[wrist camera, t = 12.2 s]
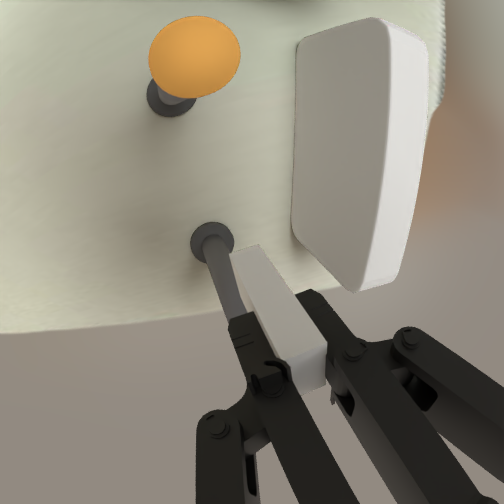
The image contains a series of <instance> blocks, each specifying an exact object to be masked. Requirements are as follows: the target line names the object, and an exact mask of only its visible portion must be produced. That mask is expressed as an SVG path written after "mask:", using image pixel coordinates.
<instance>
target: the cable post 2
mask: <svg viewBox="0 0 504 504" xmlns="http://www.w3.org/2000/svg"><path fill="white" fill-rule="evenodd" d="M233 247H234V238H233V235H232V233H231V232H230V230H229V229H228V228H227V227H226V226H225V225H223V224H221V223H218V222H209V223H205V224H203V225H201V226H200V227H198V228H197V229H196V230H195V232H194V233H193V235H192V238H191V249H192V252H193V254H194V256H195V257H196V258H197V259H198V260H199V261H201V262H203V263H206V264H207V265H208V268H209V271H210V273H211V276H212V279H213V282H214V285H215V288H216V291H217V293H218V296H219V299H220V302H221V304H222V307H223V310H224V312H225V315H226V318H227V321H228V323H229V320H230V319H231V318H234V317H237V316H240V315H243V314H245V313H248V312H247V310H246V308H245V306H244V303H243V301H242V299H241V297H240V293H239V289H238V286H237V282H236V279H235V275H234V271H233V268H232V264H231V260H230V257H229V254H230V253H231V252H232V250H233Z"/></svg>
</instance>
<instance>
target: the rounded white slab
mask: <svg viewBox="0 0 504 504" xmlns="http://www.w3.org/2000/svg"><path fill="white" fill-rule="evenodd" d="M428 85H429V61H428V52H427V48H426V45H425V42H424V41H423V40H422V39H421V38H420V37H419V36H418V35H416V34H414V33H412V32H410V31H408V30H406V29H404V28H402V27H400V26H397V25H395V24H393V23H391V22H388V21H386V20H383V19H381V18H373V17H370V18H366V19H362V20H358V21H354V22H350V23H347V24H343V25H340V26H337V27H334V28H330V29H327V30H324V31H321V32H318V33H315V34H313V35H310V36H307V37H305V38H304V39H302V40H301V41H300V43H299V45H298V48H297V53H296V102H295V140H294V166H293V188H292V206H291V226H292V229H293V233H294V235H295V236H296V238H297V240H298V241H299V242H300V243H301V244H302V245H303V246H304V247H305V248H306V249H307V250H308V251H309V252H310V253H311V254H312V255H313V256H314V257H315V258H316V259H317V260H318V261H319V262H320V263H321V264H322V265H323V266H324V267H325V268H326V269H327V270H328V271H329V272H330V273H331V274H332V275H333V276H334V277H335V278H336V279H337V281H338V282H339V283H340V284H341V285H342V286H343V287H344V288H345V289H347V290H348V291H350V292H352V293H356V292H359V291H363V290H366V289H370V288H373V287H377V286H380V285H383V284H387V283H390V282H393V281H394V279H395V277H396V276H397V274H398V272H399V268H400V265H401V261H402V258H403V254H404V250H405V246H406V242H407V238H408V234H409V230H410V225H411V221H412V217H413V212H414V207H415V202H416V197H417V192H418V186H419V180H420V174H421V167H422V160H423V153H424V144H425V135H426V124H427V110H428Z"/></svg>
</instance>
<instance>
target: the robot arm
mask: <svg viewBox="0 0 504 504" xmlns="http://www.w3.org/2000/svg"><path fill="white" fill-rule="evenodd" d="M229 257H230V260H231V264H232V268H233V271H234V275H235V279H236V282H237V286H238V289H239V293H240V297H241V299H242V301H243V303H244V306H245V308H246V310H247V312H248V313H245V314H243V315H240V316H237V317H234V318H231V319H230V320H229V326H228V331H229V334H230V337H231V340H232V342H233V345H234V348H235V351H236V353H237V356H238V359H239V361H240V364H241V367H242V370H243V372H244V375H245V377H246V381H247V389H246V392H245V394H244V396H243V397H242V399H240V400H239V401H238V402H237V403H236V404H234V405H233V406H231V407H230V408H229V409H227V410H213V411H210V412H208V413H207V414H205V415H203V417H202V418H201V419H200V420H199V422H198V425H197V430H196V431H197V432H196V504H260V495H259V484H258V473H257V462H256V452H257V451H259V450H260V449H261V448H263V447H264V446H265V445H267V444H268V443H269V442H272V444H273V447H274V449H275V452H276V454H277V456H278V458H279V461H280V463H281V465H282V467H283V470H284V472H285V474H286V476H287V478H288V481H289V483H290V485H291V487H292V489H293V492H294V494H295V496H296V498H297V500H298V502H299V504H360V503H359V502H358V500H357V498H356V496H355V495H354V493H353V491H352V489H351V488H350V486H349V484H348V482H347V480H346V479H345V477H344V475H343V473H342V471H341V470H340V468H339V466H338V464H337V463H336V461H335V459H334V457H333V455H332V453H331V452H330V450H329V448H328V446H327V444H326V442H325V441H324V439H323V437H322V435H321V433H320V431H319V430H318V428H317V426H316V424H315V422H314V420H313V419H312V416H311V415H310V413H309V411H308V409H307V407H306V405H305V403H304V401H303V400H302V398H301V396H302V395H304V394H306V393H309V392H311V391H313V390H315V389H318V388H320V387H322V386H324V385H325V384H326V379H327V381H328V382H329V384H330V385H331V387H332V389H331V399H330V400H331V403H332V405H333V404H335V401H336V403H337V404H338V406H339V408H340V409H341V411H342V413H343V415H344V416H345V418H346V420H347V421H348V423H349V424H350V426H351V428H352V429H353V431H354V433H355V434H356V436H357V438H358V439H359V441H360V443H361V444H362V446H363V448H364V449H365V451H366V453H367V454H368V456H369V458H370V459H371V461H372V463H373V464H374V466H375V467H376V469H377V471H378V472H379V474H380V476H381V477H382V479H383V481H384V482H385V484H386V486H387V487H388V489H389V490H390V492H391V494H392V495H393V497H394V499H395V500H396V502H397V504H498V503H497V501H495V500H494V499H492V498H489V497H486V496H483V495H482V494H480V493H479V491H478V490H477V488H476V487H475V485H474V484H473V482H472V481H471V480H470V478H469V477H468V475H467V474H466V472H465V471H464V469H463V468H462V466H461V465H460V463H459V462H458V461H457V459H456V458H455V456H454V455H453V454H452V452H451V451H450V449H449V448H448V447H447V445H446V444H445V443H444V441H443V440H442V438H441V437H440V435H439V434H441V435H442V436H443V437H444V438H446V439H447V440H448V441H449V442H451V443H452V444H453V445H454V446H456V447H457V448H458V449H460V450H461V451H462V452H463V453H465V454H466V455H467V456H469V457H470V458H471V459H472V460H474V461H475V462H476V463H477V464H479V465H480V466H482V467H483V468H484V469H485V470H487V471H488V472H489V473H491V474H492V475H493V476H494V477H496V478H497V479H498V480H500V481H501V482H503V483H504V387H502V386H501V385H499V384H498V383H497V382H495V381H494V380H492V379H491V378H490V377H488V376H487V375H486V374H484V373H483V372H481V371H480V370H478V369H477V368H476V367H474V366H473V365H471V364H470V363H468V362H467V361H466V360H464V359H463V358H461V357H460V356H459V355H457V354H456V353H454V352H453V351H451V350H450V349H448V348H447V347H445V346H444V345H443V344H441V343H439V342H438V341H437V340H435V339H434V338H432V337H431V336H429V335H428V334H426V333H425V332H423V331H422V330H420V329H418V328H415V327H404V328H401V329H400V330H398V331H397V332H396V334H395V335H394V337H393V339H389V340H384V341H379V342H366V341H365V340H363V339H360V338H357V337H355V336H354V335H353V334H352V332H351V331H350V330H349V329H348V327H347V326H346V325H345V324H344V322H343V321H342V320H341V318H340V317H339V316H338V315H337V313H336V312H335V311H333V308H332V307H331V306H330V305H329V304H328V302H327V301H326V300H325V299H324V297H323V296H322V295H321V294H320V293H318V292H316V291H314V290H312V289H309V290H306V291H303V292H301V293H298V294H295V295H294V294H293V292H292V291H291V289H290V288H289V287H288V285H287V284H286V282H285V281H284V279H283V278H282V277H281V275H280V274H279V272H278V271H277V269H276V268H275V266H274V265H273V264H272V262H271V261H270V259H269V258H268V257H267V255H266V254H265V252H264V251H263V249H262V248H261V247H260V245H259V244H257V245H254V246H251V247H248V248H245V249H242V250H239V251H236V252H233V253H230V254H229ZM437 432H438V433H439V434H438V433H437Z"/></svg>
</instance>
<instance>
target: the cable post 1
mask: <svg viewBox="0 0 504 504" xmlns="http://www.w3.org/2000/svg"><path fill="white" fill-rule="evenodd" d="M239 63H240V47H239V43H238V41H237V38H236V37H235V35H234V34H233V32H232V31H231V30H230V29H229V28H228V27H227V26H226V25H224V24H223V23H221V22H219V21H217V20H215V19H212V18H209V17H203V16H191V17H185V18H181V19H178V20H176V21H174V22H172V23H170V24H168V25H167V26H166V27H164V28H163V29H162V30H161V31H160V32H159V33H158V34H157V36H156V37H155V39H154V40H153V42H152V44H151V47H150V50H149V67H150V71H151V74H152V77H153V79H152V80H151V82H150V84H149V86H148V89H147V100H148V103H149V105H150V107H151V108H152V109H153V110H154V111H155V112H156V113H158V114H160V115H163V116H168V117H172V116H178V115H181V114H183V113H185V112H186V111H188V110H189V109H190V108H191V107H192V106H193V104H194V103H195V101H196V98H198V97H202V96H205V95H208V94H211V93H214V92H216V91H218V90H219V89H221V88H222V87H224V86H225V85H226V84H227V83H228V82H229V81H230V80H231V79H232V78H233V76H234V75H235V73H236V71H237V69H238V66H239Z"/></svg>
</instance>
